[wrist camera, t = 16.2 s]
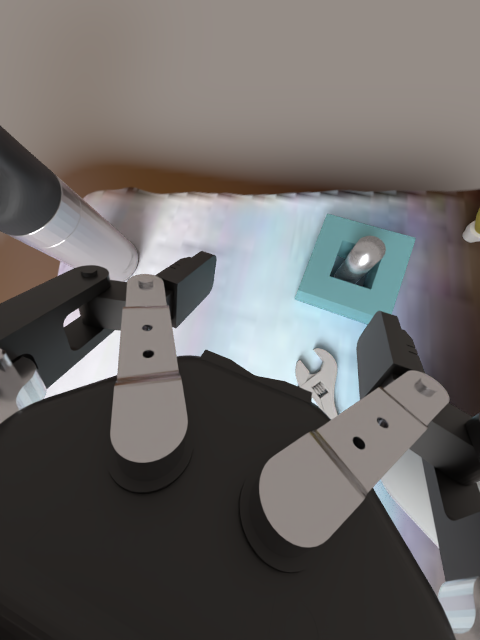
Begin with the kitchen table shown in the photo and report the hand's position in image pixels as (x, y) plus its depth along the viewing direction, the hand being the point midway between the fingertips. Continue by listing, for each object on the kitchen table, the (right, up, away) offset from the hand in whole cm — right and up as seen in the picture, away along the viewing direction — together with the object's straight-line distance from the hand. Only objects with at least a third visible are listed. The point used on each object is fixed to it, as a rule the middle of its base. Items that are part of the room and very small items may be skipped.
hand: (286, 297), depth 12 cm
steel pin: (+15, +6, +28) cm, 33 cm away
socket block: (+15, +6, +28) cm, 33 cm away
